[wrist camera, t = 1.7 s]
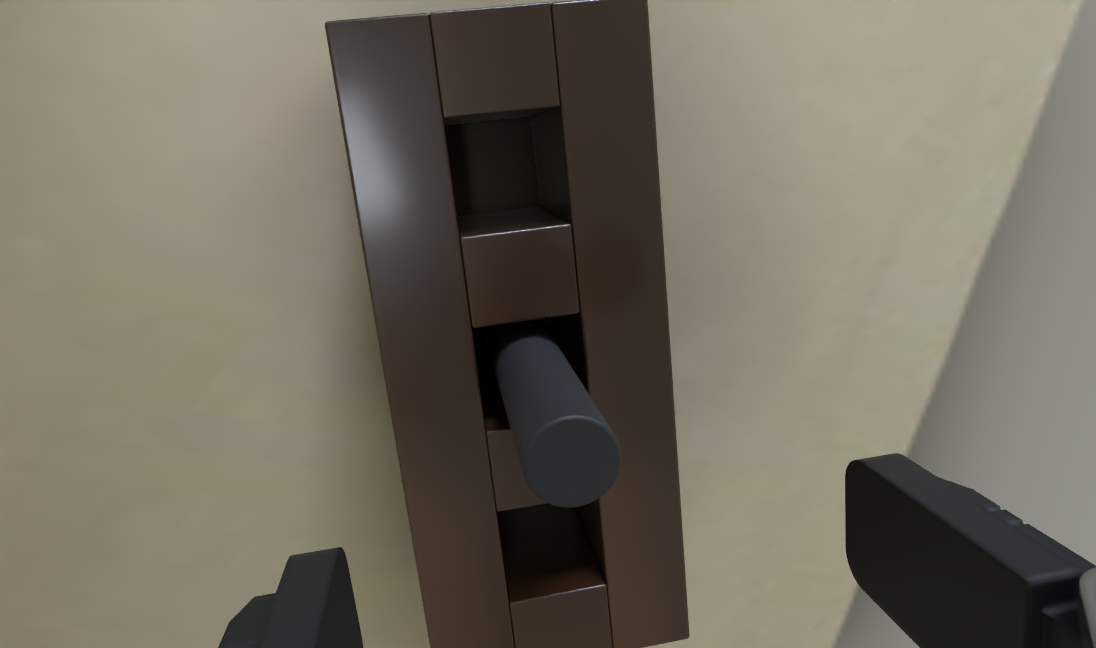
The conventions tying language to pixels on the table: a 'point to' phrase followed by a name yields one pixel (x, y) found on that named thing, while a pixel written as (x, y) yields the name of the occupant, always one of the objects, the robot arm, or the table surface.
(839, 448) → the table surface
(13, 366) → the table surface
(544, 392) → the stylus
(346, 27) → the pen stand
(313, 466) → the table surface
